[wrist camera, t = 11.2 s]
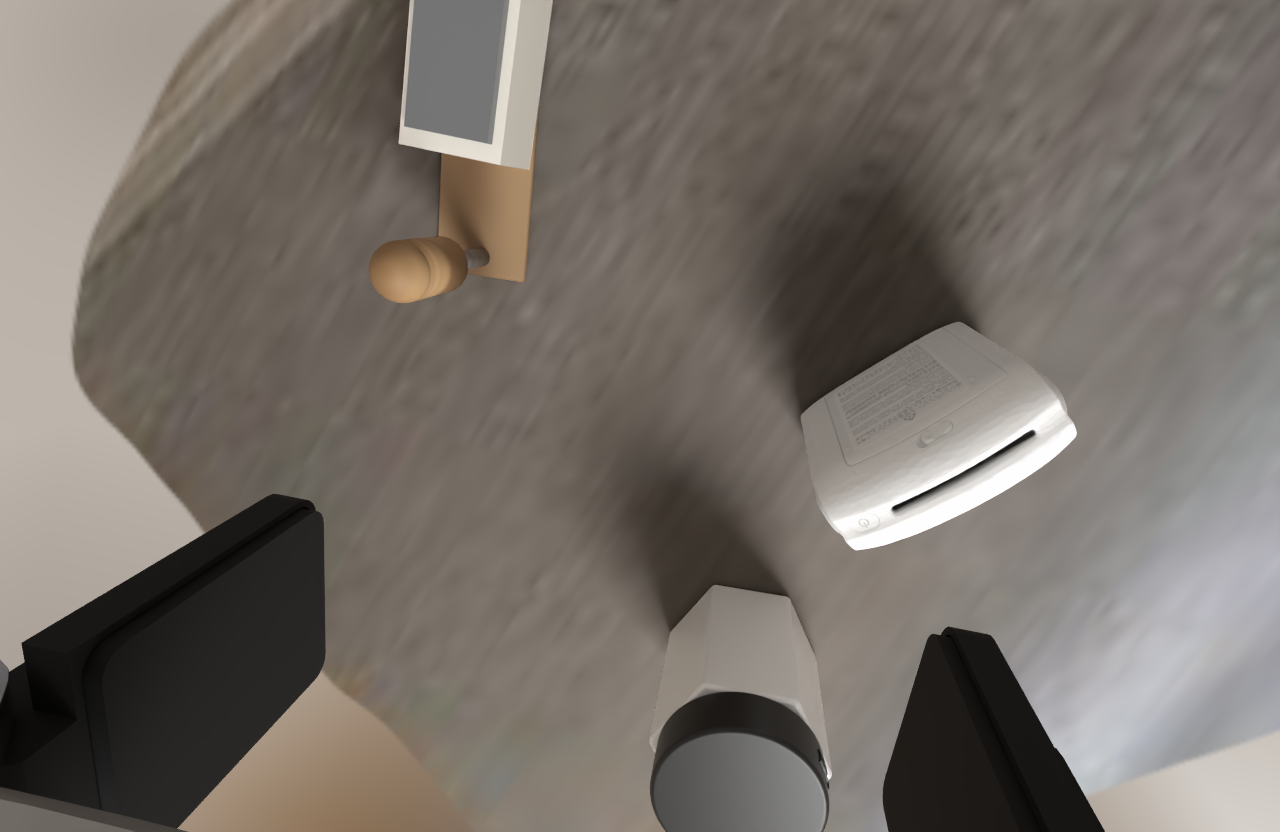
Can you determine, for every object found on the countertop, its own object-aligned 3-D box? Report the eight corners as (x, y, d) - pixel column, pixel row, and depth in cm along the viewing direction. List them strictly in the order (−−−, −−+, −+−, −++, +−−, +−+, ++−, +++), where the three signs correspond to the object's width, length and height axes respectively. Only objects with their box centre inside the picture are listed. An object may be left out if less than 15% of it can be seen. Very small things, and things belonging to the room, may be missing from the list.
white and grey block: (553, -2, 33) (520, -37, 29) (529, 169, 36) (495, 164, 31) (455, -20, 34) (407, -57, 29) (439, 150, 36) (392, 142, 32)
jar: (749, 726, 44) (748, 906, 33) (647, 652, 44) (610, 809, 32) (843, 635, 41) (877, 798, 30) (734, 556, 41) (727, 690, 29)
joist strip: (551, -53, 33) (549, -55, 33) (525, 281, 38) (523, 282, 38) (452, -63, 34) (449, -65, 33) (439, 268, 39) (437, 268, 38)
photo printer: (827, 474, 39) (860, 591, 27) (785, 413, 38) (800, 505, 26) (1003, 375, 36) (1126, 458, 24) (961, 306, 35) (1065, 357, 23)
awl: (505, 236, 37) (417, 246, 27) (502, 284, 38) (415, 311, 28) (459, 229, 37) (356, 237, 28) (457, 277, 38) (356, 301, 28)
